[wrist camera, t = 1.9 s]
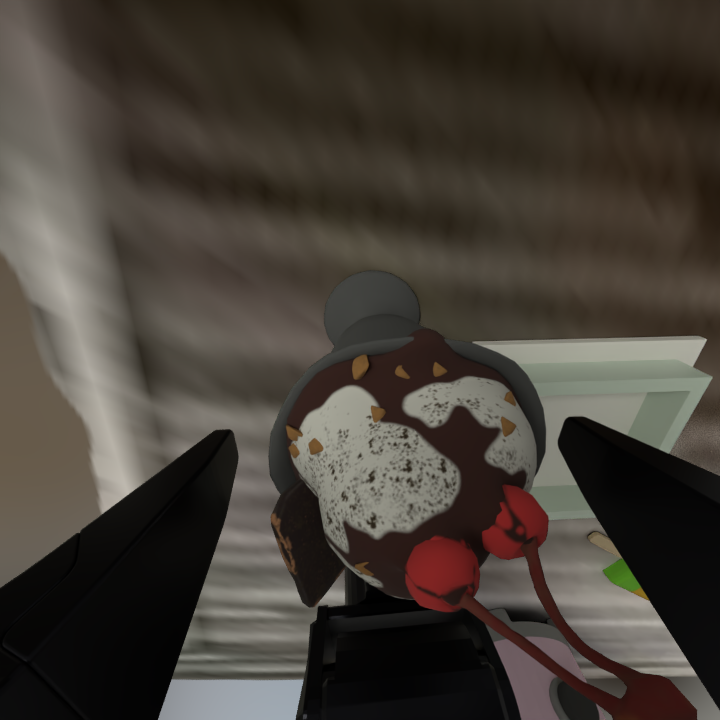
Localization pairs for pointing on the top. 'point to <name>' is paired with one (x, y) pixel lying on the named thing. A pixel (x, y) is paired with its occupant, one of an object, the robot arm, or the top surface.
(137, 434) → the top surface
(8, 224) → the top surface
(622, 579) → the popsicle
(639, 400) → the holder cell
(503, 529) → the sundae
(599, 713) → the blender
